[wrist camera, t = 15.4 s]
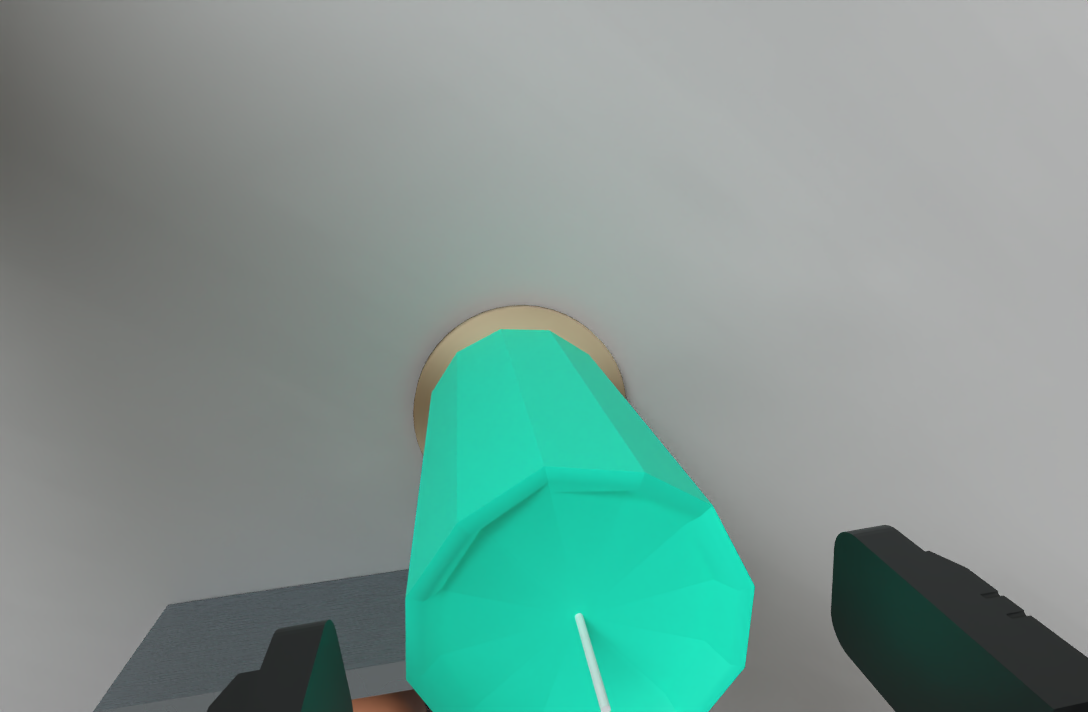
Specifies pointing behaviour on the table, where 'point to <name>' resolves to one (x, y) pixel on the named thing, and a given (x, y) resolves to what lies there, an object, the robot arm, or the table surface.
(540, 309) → the coaster
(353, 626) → the gray open box
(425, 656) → the candle
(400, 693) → the orange egg shape
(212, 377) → the table surface
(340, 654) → the robot arm
